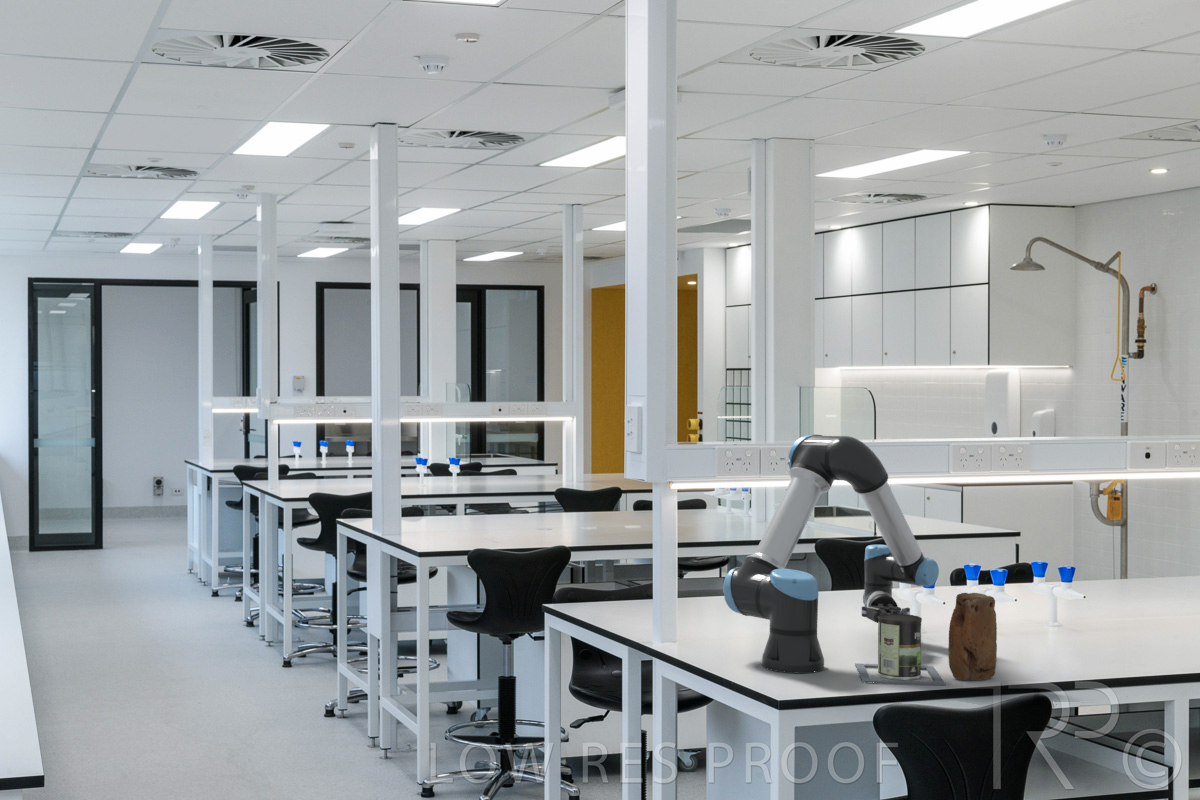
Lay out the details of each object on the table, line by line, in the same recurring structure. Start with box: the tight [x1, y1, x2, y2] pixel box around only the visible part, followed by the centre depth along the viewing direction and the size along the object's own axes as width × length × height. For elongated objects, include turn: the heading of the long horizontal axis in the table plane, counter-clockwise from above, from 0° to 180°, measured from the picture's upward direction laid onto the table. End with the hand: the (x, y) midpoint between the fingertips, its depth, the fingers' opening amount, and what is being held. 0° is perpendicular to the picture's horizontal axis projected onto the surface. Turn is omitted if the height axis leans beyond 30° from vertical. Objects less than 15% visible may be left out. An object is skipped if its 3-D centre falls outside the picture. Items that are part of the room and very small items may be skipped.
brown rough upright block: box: [948, 592, 998, 681], centre depth 289 cm, size 11×8×20 cm
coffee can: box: [877, 614, 923, 681], centre depth 291 cm, size 10×10×14 cm
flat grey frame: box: [854, 663, 947, 687], centre depth 291 cm, size 19×19×1 cm
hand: (893, 623), depth 307 cm, fingers closed
